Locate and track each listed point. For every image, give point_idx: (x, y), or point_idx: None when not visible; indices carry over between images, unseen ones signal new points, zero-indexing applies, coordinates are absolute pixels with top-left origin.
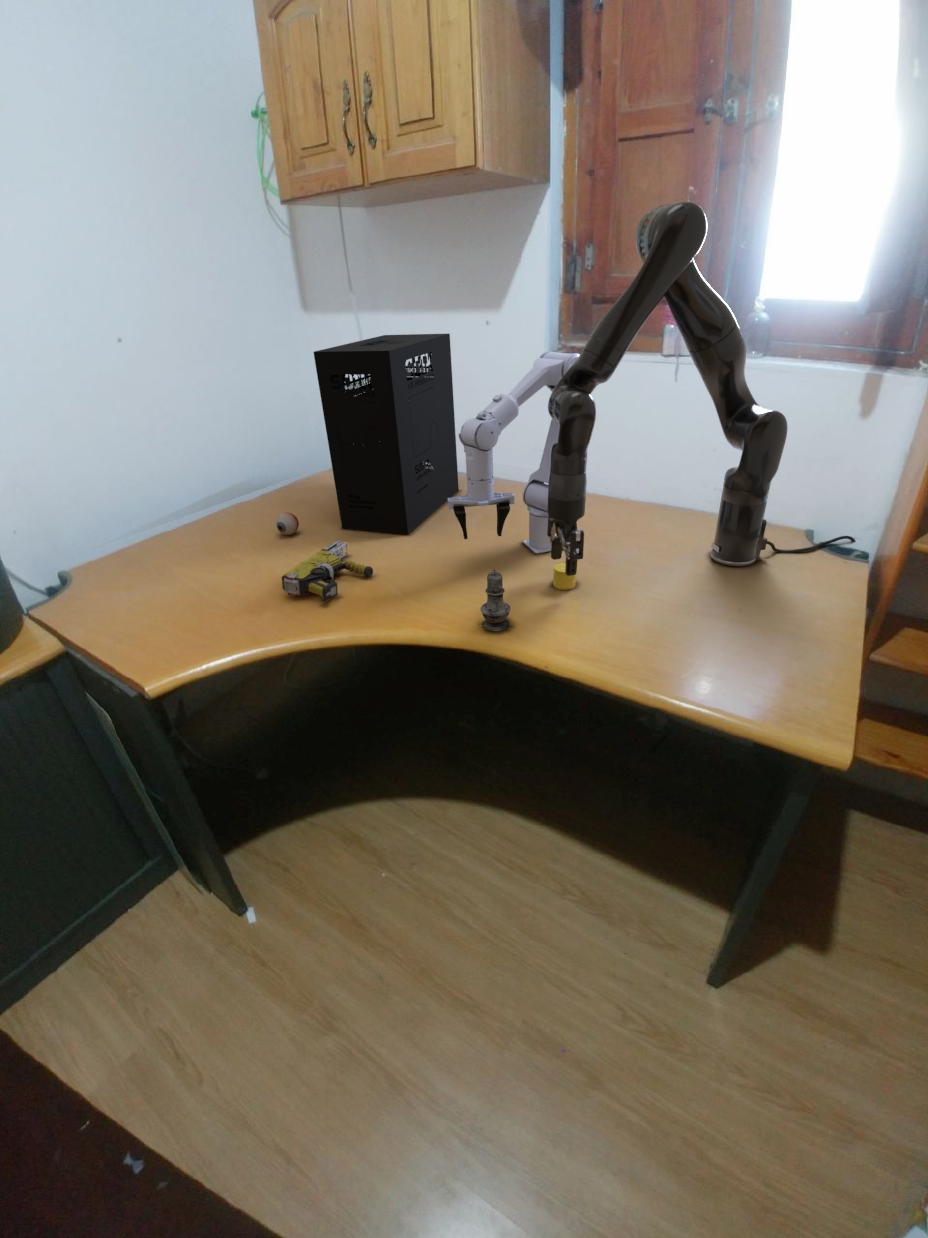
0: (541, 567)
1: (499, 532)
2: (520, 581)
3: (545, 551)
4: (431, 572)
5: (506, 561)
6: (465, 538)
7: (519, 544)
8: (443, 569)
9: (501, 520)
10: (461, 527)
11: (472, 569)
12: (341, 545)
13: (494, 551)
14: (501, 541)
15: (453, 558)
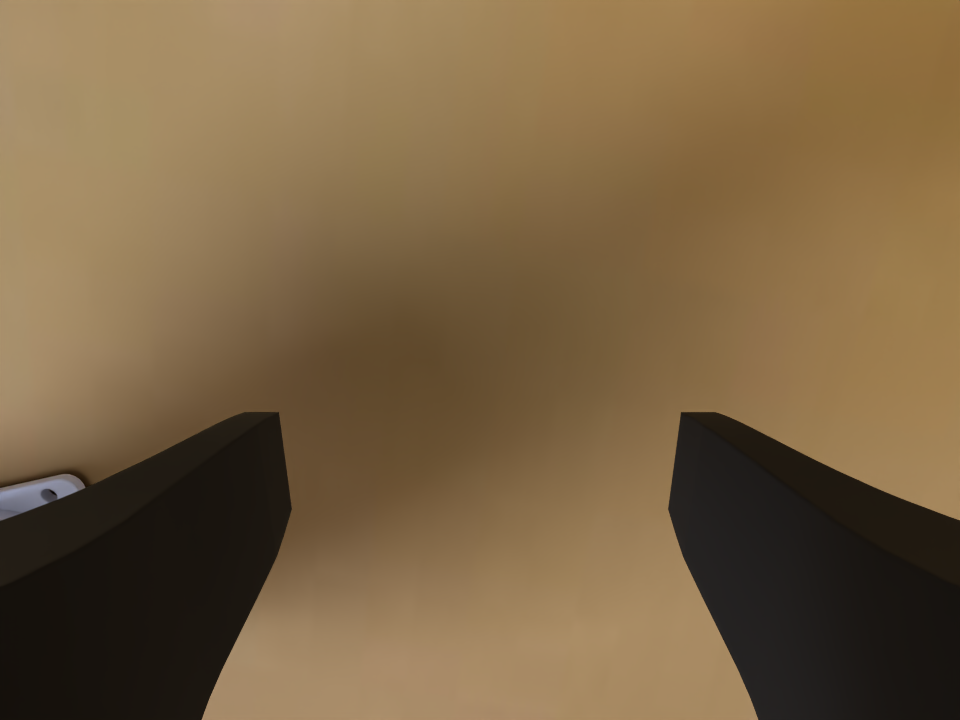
0: (26, 251)
1: (240, 424)
2: (196, 10)
3: (3, 487)
4: (878, 331)
5: (299, 404)
6: (710, 413)
7: None
8: (778, 363)
9: (90, 511)
10: (858, 487)
11: (566, 321)
12: None
13: (373, 565)
14: (317, 685)
15: (667, 517)
